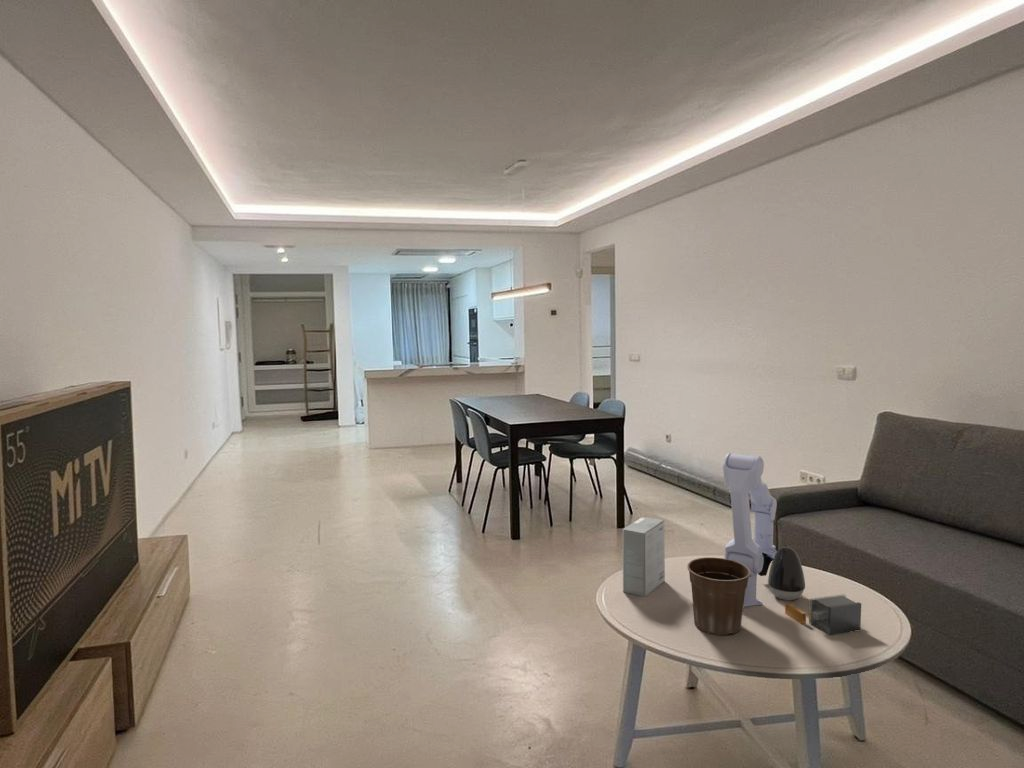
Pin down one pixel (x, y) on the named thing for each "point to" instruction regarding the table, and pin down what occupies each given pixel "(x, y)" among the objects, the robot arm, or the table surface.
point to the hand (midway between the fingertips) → (762, 575)
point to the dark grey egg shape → (786, 575)
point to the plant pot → (718, 594)
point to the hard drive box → (643, 556)
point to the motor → (829, 614)
